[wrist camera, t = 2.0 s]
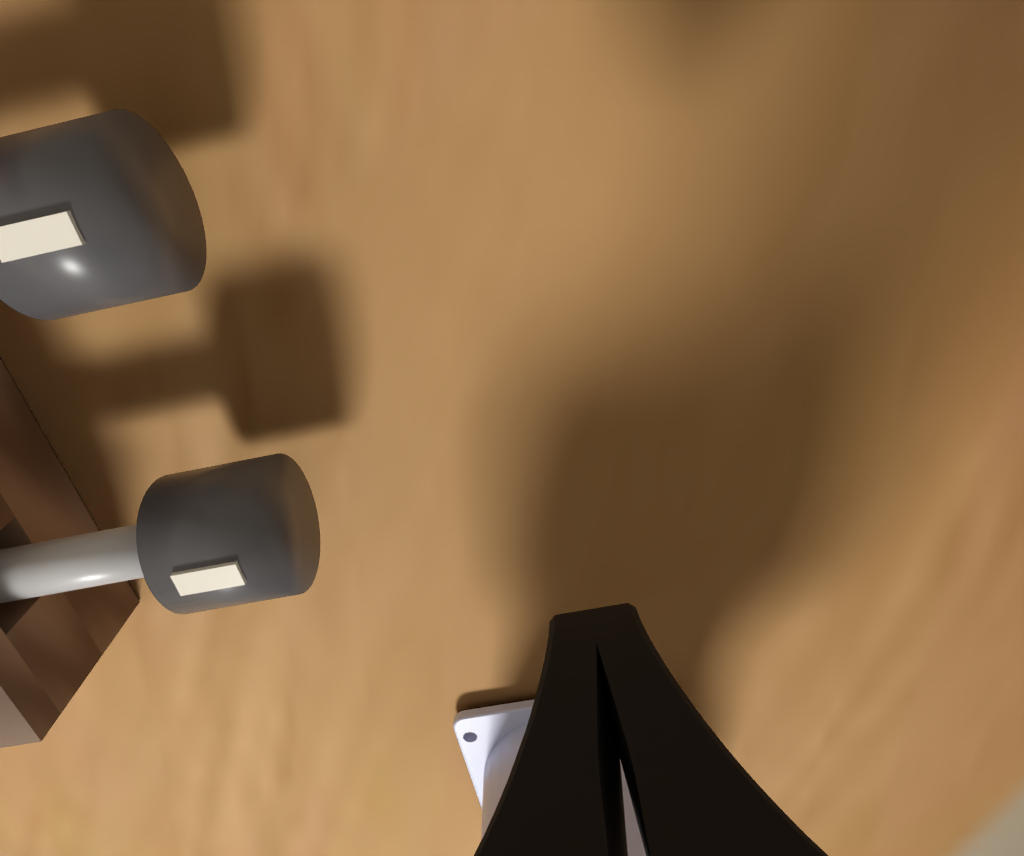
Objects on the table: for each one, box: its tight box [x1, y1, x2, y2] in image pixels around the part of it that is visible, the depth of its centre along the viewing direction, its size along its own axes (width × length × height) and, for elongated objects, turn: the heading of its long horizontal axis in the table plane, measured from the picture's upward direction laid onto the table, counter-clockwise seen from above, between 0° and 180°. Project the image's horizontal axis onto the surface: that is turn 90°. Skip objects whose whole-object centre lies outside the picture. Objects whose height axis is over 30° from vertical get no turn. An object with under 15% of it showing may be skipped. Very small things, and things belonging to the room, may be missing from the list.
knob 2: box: [0, 453, 320, 614], centre depth 18 cm, size 4×9×4 cm, turn 102°
